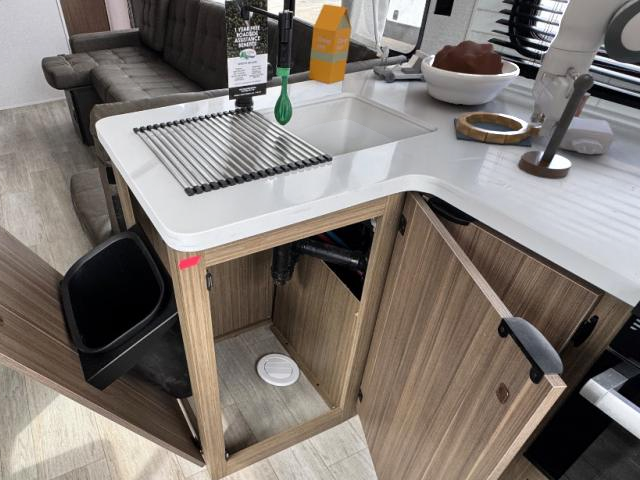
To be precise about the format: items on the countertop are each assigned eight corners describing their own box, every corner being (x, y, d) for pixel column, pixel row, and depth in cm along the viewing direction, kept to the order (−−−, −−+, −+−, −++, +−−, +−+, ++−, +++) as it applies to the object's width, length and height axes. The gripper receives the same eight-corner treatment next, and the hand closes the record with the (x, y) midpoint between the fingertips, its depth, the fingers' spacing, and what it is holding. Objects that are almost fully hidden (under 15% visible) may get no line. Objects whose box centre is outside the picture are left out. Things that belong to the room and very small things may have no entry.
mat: (521, 126, 109) (522, 124, 108) (531, 147, 99) (532, 145, 98) (453, 120, 112) (454, 118, 112) (456, 139, 102) (457, 137, 102)
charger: (558, 158, 94) (554, 135, 104) (608, 166, 91) (598, 141, 101) (569, 136, 91) (563, 115, 101) (622, 144, 88) (610, 121, 98)
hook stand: (561, 163, 92) (608, 70, 80) (571, 181, 86) (625, 82, 74) (515, 157, 94) (554, 66, 82) (521, 175, 88) (565, 78, 76)
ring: (536, 125, 108) (540, 117, 107) (549, 148, 97) (554, 139, 96) (454, 117, 112) (457, 109, 111) (457, 138, 101) (460, 129, 100)
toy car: (383, 48, 132) (370, 40, 140) (377, 83, 138) (364, 74, 147) (439, 47, 133) (423, 39, 142) (430, 81, 140) (415, 72, 148)
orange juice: (323, 74, 146) (331, 3, 133) (344, 79, 141) (355, 6, 128) (308, 78, 142) (315, 5, 129) (329, 84, 137) (338, 8, 124)
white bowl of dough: (456, 84, 137) (473, 29, 127) (526, 107, 120) (551, 45, 110) (394, 94, 129) (407, 36, 119) (459, 120, 112) (481, 54, 102)
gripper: (597, 76, 85) (562, 146, 94) (571, 53, 99) (543, 116, 108) (561, 73, 86) (530, 142, 95) (541, 51, 101) (516, 113, 110)
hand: (537, 128), depth 102 cm, fingers open, 8 cm apart
